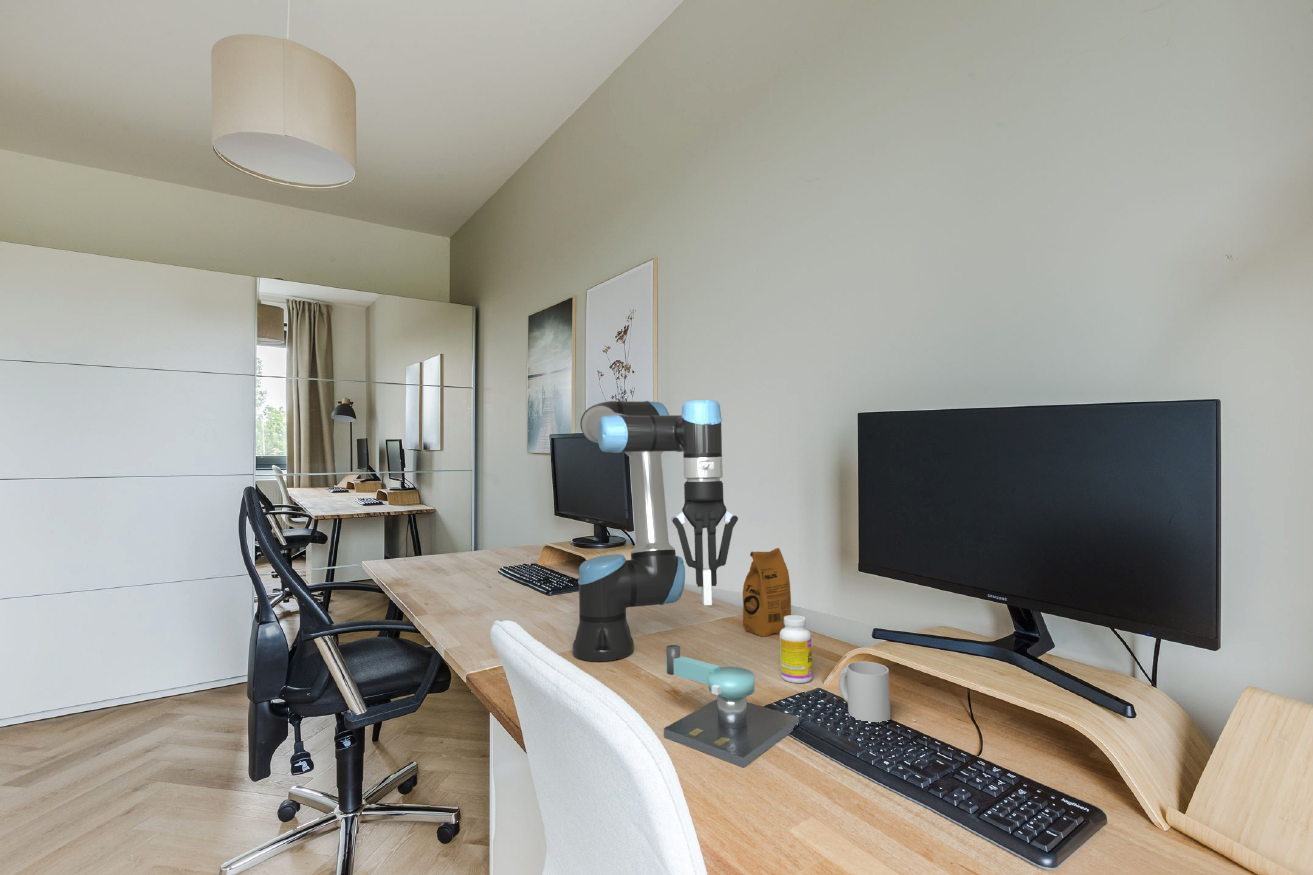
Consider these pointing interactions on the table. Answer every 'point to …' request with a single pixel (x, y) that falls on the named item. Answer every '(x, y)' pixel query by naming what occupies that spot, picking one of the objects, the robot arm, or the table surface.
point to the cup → (866, 690)
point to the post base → (732, 729)
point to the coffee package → (766, 594)
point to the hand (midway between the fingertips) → (706, 603)
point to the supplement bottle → (795, 650)
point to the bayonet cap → (711, 675)
